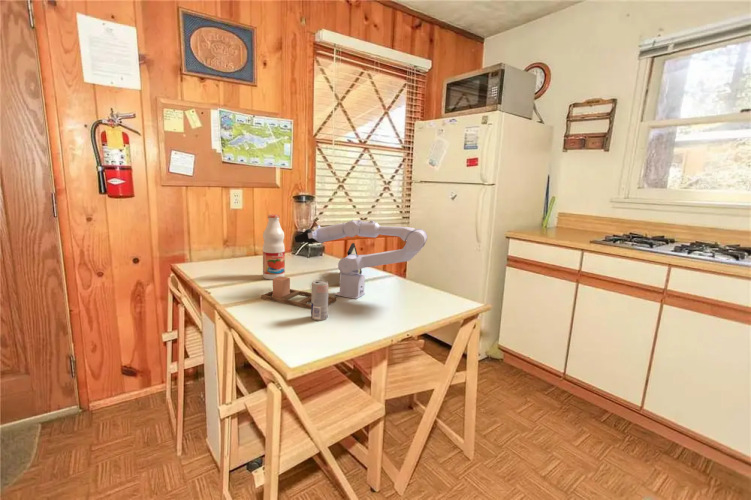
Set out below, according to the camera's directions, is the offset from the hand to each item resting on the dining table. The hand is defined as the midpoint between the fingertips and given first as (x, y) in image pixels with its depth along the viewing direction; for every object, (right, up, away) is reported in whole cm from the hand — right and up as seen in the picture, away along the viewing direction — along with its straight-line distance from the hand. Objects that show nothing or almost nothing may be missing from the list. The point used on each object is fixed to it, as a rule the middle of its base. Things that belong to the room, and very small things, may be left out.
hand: (300, 239), depth 146 cm
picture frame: (+19, -18, +22) cm, 34 cm away
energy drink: (+12, -26, -27) cm, 40 cm away
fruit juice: (-16, -17, +18) cm, 29 cm away
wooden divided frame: (+2, -23, -10) cm, 25 cm away
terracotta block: (-6, -22, -7) cm, 24 cm away
